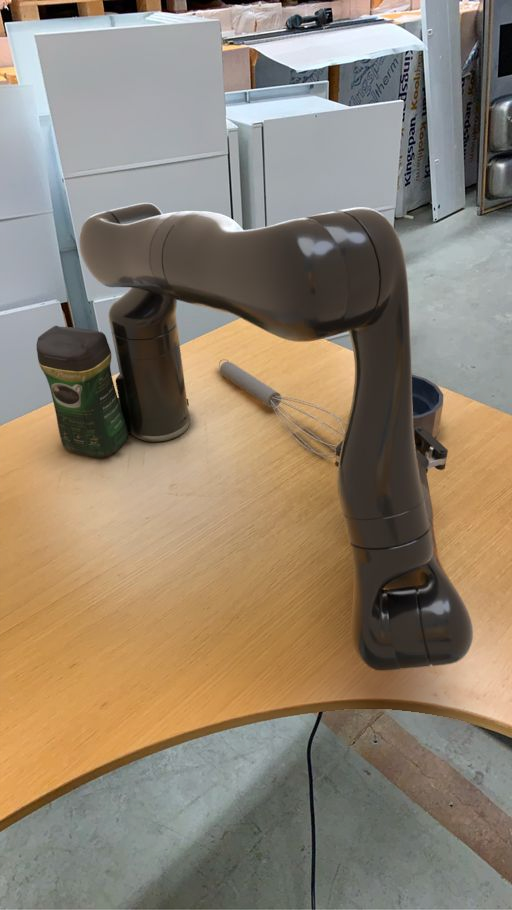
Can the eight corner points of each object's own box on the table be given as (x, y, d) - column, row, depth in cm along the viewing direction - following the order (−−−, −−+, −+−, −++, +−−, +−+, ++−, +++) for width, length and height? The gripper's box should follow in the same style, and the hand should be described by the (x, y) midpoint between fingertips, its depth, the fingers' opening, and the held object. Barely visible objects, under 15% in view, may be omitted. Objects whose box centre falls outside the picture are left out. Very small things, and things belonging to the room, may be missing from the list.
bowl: (351, 447, 96) (352, 413, 92) (361, 402, 105) (363, 369, 101) (436, 457, 93) (442, 422, 90) (439, 409, 102) (444, 376, 99)
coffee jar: (136, 433, 101) (115, 324, 89) (109, 464, 95) (83, 351, 84) (84, 422, 104) (57, 315, 93) (54, 451, 98) (21, 340, 87)
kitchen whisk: (234, 364, 116) (231, 332, 112) (359, 459, 94) (362, 423, 90) (204, 375, 114) (201, 342, 110) (326, 475, 91) (327, 439, 87)
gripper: (466, 478, 68) (444, 389, 82) (332, 475, 70) (332, 388, 83) (456, 529, 73) (436, 437, 87) (330, 525, 74) (330, 435, 88)
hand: (385, 413), depth 85 cm, fingers closed
